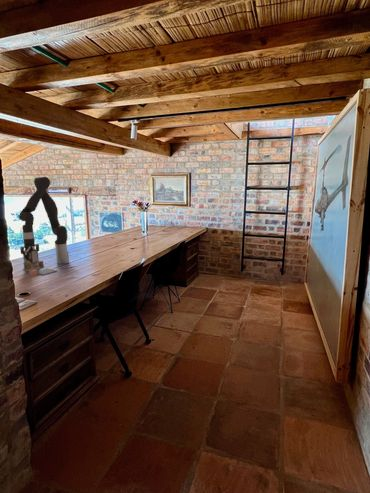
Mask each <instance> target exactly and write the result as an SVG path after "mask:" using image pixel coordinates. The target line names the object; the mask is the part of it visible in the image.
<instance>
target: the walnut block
mask: <svg viewBox="0 0 370 493" xmlns="http://www.w3.org/2000/svg"><path fill="white" fill-rule="evenodd" d="M43 267H44V261H43V260H42V259H41V260H40V259H39V268H43Z"/></svg>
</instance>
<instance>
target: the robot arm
mask: <svg viewBox="0 0 370 493" xmlns="http://www.w3.org/2000/svg"><path fill="white" fill-rule="evenodd" d="M33 184H34V186H35V189H36V190H35V191H34V192H33V194H32V195H31V196H30V197H29V199H28V200H27V202H26V205H25V206H24V207H23V208H22V210H21V211H20V213H19V214H18V217H19V220H20V221H21V222H24V224H22V228H21V229H22V238H23V240H22V241H23V245H24V246H19V249H20V254H21V255H23V254H24V258H25V259H27V255H26V254H27V252H28V251H30V250H38V252H40V245H39V243H35V234H34V228H33V227H34V221H35V220H34V219H35V218H34V214H33V212H35V211H36V209H37V207H38V205H39V203H40V201H41V202H42V204H43V207H44V211H45V214H46V215H47V218H48V220H49V223H50V224H49V225H50V228H51V231H52V233H53V235H55V236H56V239H55V241H54V247H55V256H56V258H55V260H56V264H60V265H61V264H67V263H69V262H70V259H69V258H70V256H69V251H68V244H67V241H68V230H67V228H66V226H65V225H61V224H60V222H59V219H58V218H59V217H58V216H59V215H58V214H59V212H58V211H59V209H58V207H57V204H56V202H55V200H54V199H53V198H52V196H50V194H49V192H48V189H49V188H50V185H51V180H50V178H49V177H47V176H37V177H35V178H34V180H33ZM26 250H27V251H26ZM24 258H23V259H24Z"/></svg>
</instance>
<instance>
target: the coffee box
mask: <svg viewBox="0 0 370 493" xmlns="http://www.w3.org/2000/svg"><path fill="white" fill-rule="evenodd" d="M26 251H27V250H26ZM26 255H27V259H25V258H24V254H22V257H23V258H22V259H23V263H24V264H23V267H24V266H25V269H24V271H27V272H29V270H33V269H35V270H37V271H39V270H41V269H40V268H41V267H40V268H39V260H40V259H39V251H38V250H30V251H28V252H27V254H26Z"/></svg>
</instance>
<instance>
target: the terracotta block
mask: <svg viewBox="0 0 370 493" xmlns="http://www.w3.org/2000/svg"><path fill="white" fill-rule="evenodd" d="M37 271H38V270H35V269H33V270H29V271H28V274H29V276H31V277H34V276H38V275H39V274H38V273H37Z"/></svg>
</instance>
